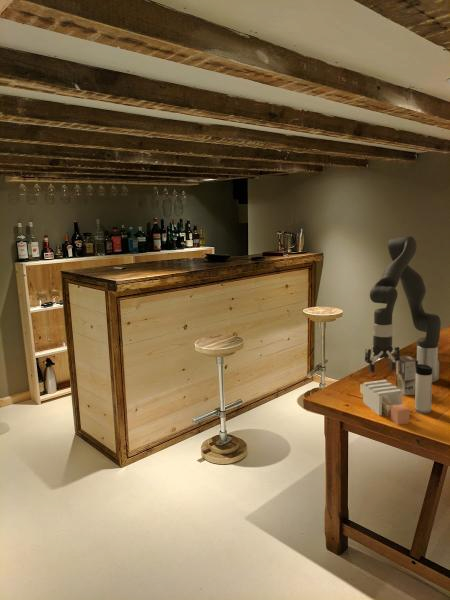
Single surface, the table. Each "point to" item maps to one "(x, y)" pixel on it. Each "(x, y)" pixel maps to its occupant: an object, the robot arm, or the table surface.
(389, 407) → the rod
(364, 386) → the tunnel
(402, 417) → the block
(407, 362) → the coffee box
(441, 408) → the table surface
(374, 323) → the robot arm
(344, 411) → the table surface
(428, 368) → the travel mug
